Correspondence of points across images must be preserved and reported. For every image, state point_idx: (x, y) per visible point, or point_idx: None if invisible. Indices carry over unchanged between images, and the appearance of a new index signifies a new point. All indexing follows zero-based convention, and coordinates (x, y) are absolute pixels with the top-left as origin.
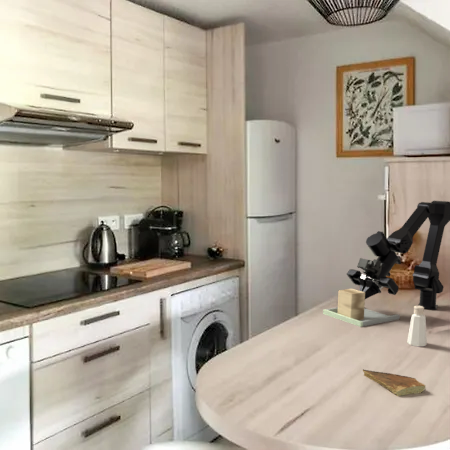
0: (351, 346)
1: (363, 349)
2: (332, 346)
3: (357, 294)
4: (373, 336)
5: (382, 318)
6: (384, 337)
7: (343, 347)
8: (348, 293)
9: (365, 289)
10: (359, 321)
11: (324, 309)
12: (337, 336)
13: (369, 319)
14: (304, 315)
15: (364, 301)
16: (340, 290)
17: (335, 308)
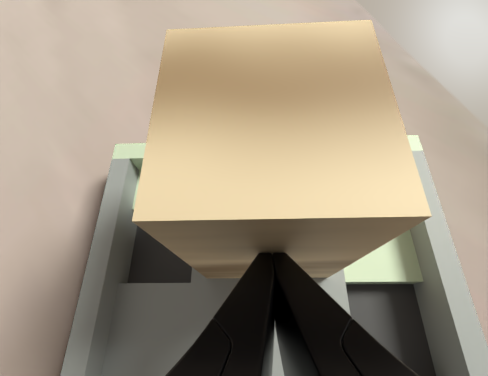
0: (55, 38)
1: (12, 48)
2: (96, 3)
3: (158, 103)
4: (48, 159)
5: (71, 338)
6: (4, 188)
7: (68, 19)
8: (215, 29)
9: (224, 352)
10: (129, 149)
11: (419, 143)
12: (145, 57)
13: (115, 226)
14: (452, 108)
15: (173, 250)
16: (362, 33)
17: (427, 219)
